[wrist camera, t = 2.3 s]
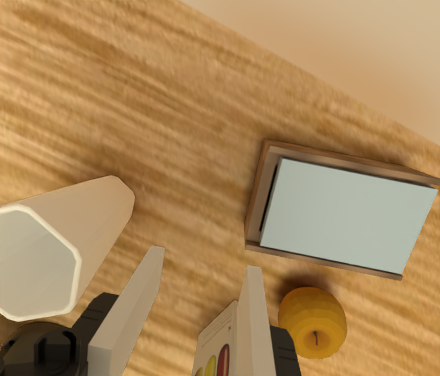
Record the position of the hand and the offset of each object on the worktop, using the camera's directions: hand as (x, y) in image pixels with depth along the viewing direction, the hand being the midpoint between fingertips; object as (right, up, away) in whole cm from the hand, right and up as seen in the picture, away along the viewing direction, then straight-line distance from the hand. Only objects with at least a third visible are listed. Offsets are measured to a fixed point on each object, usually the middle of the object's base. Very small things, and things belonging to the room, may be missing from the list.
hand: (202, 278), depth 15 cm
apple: (+13, -11, +26) cm, 31 cm away
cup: (-14, +3, +24) cm, 28 cm away
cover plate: (+14, +2, +16) cm, 21 cm away
